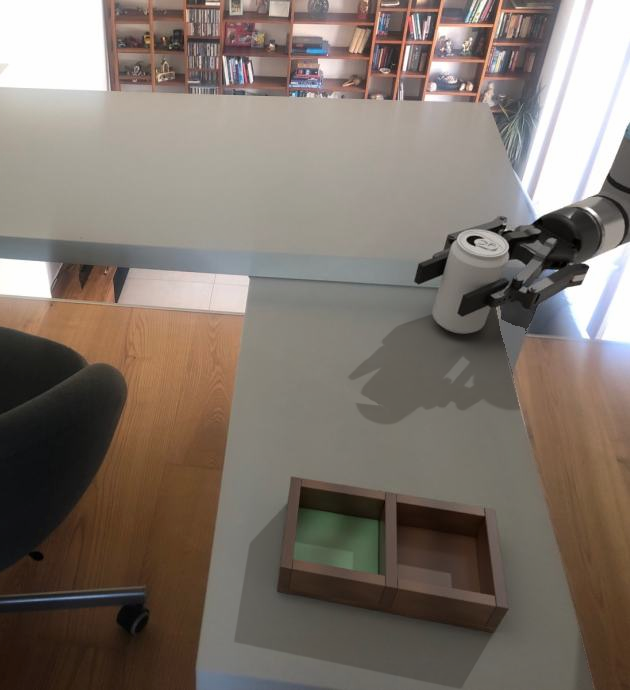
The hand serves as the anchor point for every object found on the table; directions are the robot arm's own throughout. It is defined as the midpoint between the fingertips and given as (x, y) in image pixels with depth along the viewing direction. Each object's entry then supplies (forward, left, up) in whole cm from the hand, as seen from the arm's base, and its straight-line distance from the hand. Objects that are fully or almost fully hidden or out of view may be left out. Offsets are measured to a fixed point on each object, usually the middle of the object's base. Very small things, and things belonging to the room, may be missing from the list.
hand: (440, 289), depth 82 cm
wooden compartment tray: (+5, +33, -8) cm, 34 cm away
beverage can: (-4, -3, -7) cm, 9 cm away
